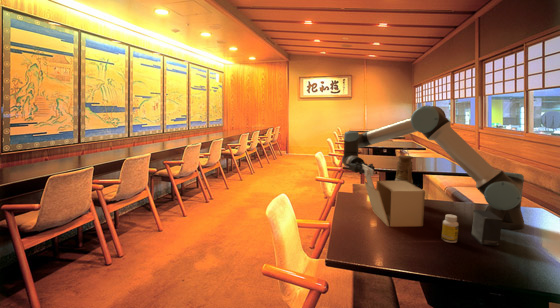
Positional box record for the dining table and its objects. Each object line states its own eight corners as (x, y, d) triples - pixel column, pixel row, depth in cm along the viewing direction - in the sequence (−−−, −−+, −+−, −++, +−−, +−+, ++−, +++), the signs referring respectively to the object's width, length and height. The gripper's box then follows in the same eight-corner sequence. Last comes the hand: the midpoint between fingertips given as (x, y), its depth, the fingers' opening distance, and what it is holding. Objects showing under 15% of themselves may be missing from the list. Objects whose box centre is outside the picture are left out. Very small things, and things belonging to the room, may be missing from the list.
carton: (403, 212, 156) (405, 180, 154) (422, 227, 137) (425, 191, 135) (375, 212, 156) (376, 180, 154) (390, 227, 136) (392, 191, 134)
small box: (500, 246, 118) (503, 219, 116) (481, 245, 119) (483, 218, 117) (488, 235, 128) (490, 210, 126) (470, 234, 129) (472, 209, 128)
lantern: (384, 200, 178) (387, 146, 174) (398, 198, 183) (401, 145, 179) (406, 207, 165) (409, 149, 161) (420, 205, 169) (423, 148, 165)
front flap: (374, 211, 156) (359, 161, 152) (389, 226, 136) (372, 169, 133) (373, 212, 156) (358, 162, 152) (388, 226, 136) (371, 169, 133)
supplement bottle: (456, 244, 119) (458, 219, 118) (440, 241, 122) (442, 216, 121) (457, 239, 124) (459, 215, 123) (442, 236, 127) (443, 212, 126)
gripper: (369, 171, 161) (386, 181, 138) (341, 171, 161) (353, 181, 138) (370, 156, 160) (387, 164, 137) (341, 156, 160) (353, 164, 137)
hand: (370, 172), depth 137 cm, fingers closed on front flap, 2 cm apart
